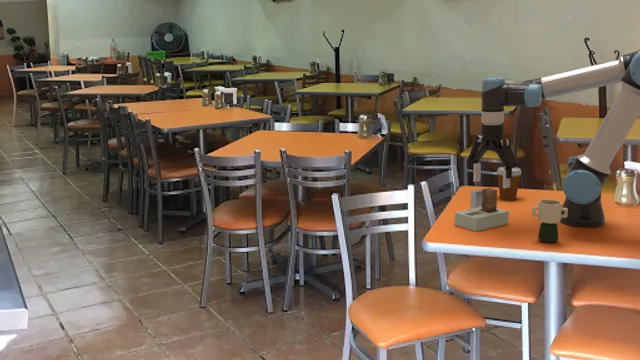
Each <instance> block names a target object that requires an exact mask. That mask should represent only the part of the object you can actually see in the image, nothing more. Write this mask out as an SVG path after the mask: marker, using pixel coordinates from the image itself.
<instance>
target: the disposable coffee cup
mask: <svg viewBox="0 0 640 360" xmlns="http://www.w3.org/2000/svg"><path fill="white" fill-rule="evenodd" d="M503 169H505V167H504V166H500V167H498V168H497V171H496V174H497V180H498V193H499V199H500V200H503V201H514V200H516V199H517V196H518V190H519V184H520V179H521V175H522V170H521V168H519V167H515V168H512V177H511V178H510V187H508V188H503Z"/></svg>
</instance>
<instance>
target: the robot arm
mask: <svg viewBox="0 0 640 360" xmlns="http://www.w3.org/2000/svg"><path fill="white" fill-rule="evenodd" d="M619 83H620V85H621V89H620V91H619V92H618V94H617V96H616V98H615V99H614V101H613V103H612V105H611V106H610V108H609V110H608V111H607V113H606V115H605V116H604V118H603V120H602V122H601V123H600V125H599V127H598V129H597V130H596V132H595V134H594V136H593V138H592V140H591V141H590V143H589V144H588V146H587V148H586V150H585V152H584V153H582V154H579V155H576V156H570V157H569V158H568V159H567V160H568V161H567V164H566V165H567V173H566V175H565V176H564V178H563V180H562V190H563V193H564V195H565V199H564V202H563V203H562V208H567V209H568V215H567V218H561V220H560V222H561V223H563V224H566V225H569V226H572V227H573V226H574V227H578V228H579V227H580V228H597V227H602V226H603V225H604V224H605V223H606V216H605V212H604V209H603V205H602V189H603V186H604V185H605V184H606V181H607V180H608V178H609V176H610V175H611V173H612V172H611V169H610V166H611V163H612V162H613V160H614V158H615V156H616V155H617V153H618V151H619V150H620V149H621V146H622V145H623V143H624V141H625V140H626V138H627V137H628V134H629V133H630V131H631V129H632V128H633V127H634V124H635V123H636V121H637V120H638V118H639V116H640V49H639V50H636V51H632V52H630V53H626V54H623V55H620V56H619V58H618V59H615V60H611V61H607V62H602V63H597V64H593V65H589V66H585V67H580V68H576V69H573V70H572V69H571V70H568V71H564V72H559V73H556V74H555V73H554V74H550V75H545V76H543V77H542V76H541V77H537V78H534V79H526V80H524V81H522V82H521V83H506V79H505V78H504V77H495V76H494V77H485V78H483V80H482V86H481V119H480V120H481V121H480V122H481V123H482V124H481V126H480V127H481V129H480V135H475V136H474V143H473V145H472V148H471V150H470V153H469V155H468V157H467V160H468V161H469V162H471V163H472V172H473V183H477V182H481V175H482V174H481V172H482V171H481V169H482V167H481V166H482V165H481V160H482V158H483V156H485V154H486V152H488V151H491V152H495V153H496V154H497V156H498V158H499V159H500V161H501V163H502V165H503V167H505V169H503V188H508V187H510V178H511V177H512V168H515V167H516V168H518V164H517V161H516V158H515V155H514V153H513V149H512V146H511V140H510V138H507V139H506V138H505V139H503V136H504V134H505V133H504V132H505V130H504V129H505V125H504V124H503V123H504V122H505V107H527V108H533V107H539V106H541V104H542V100H546V99H551V98H555V97H560V96H564V95H569V94H573V93H578V92H583V91H587V90H592V89H597V88H602V87H606V86H610V85H614V84H615V85H616V84H619ZM564 212H565V211H561V215H564Z"/></svg>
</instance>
